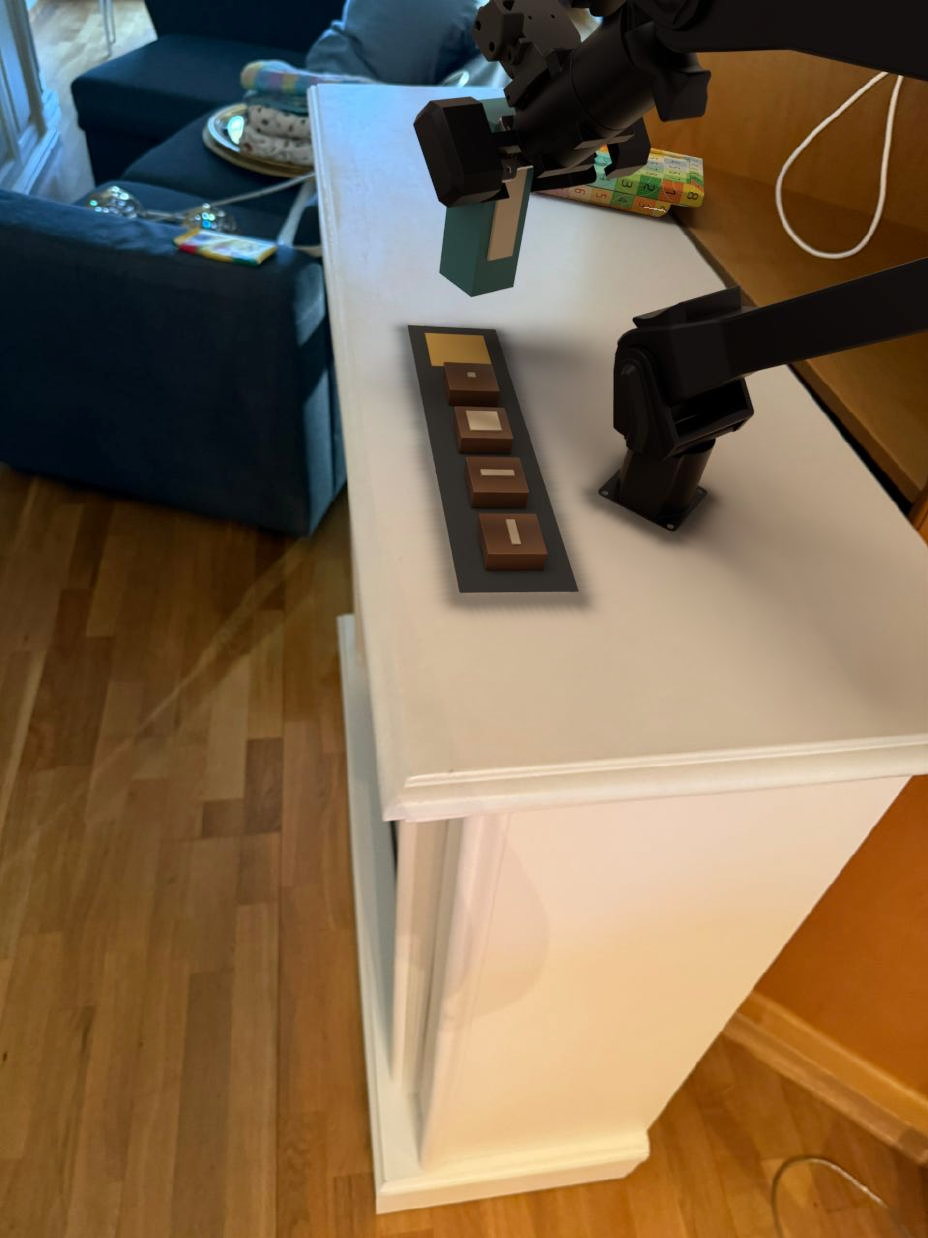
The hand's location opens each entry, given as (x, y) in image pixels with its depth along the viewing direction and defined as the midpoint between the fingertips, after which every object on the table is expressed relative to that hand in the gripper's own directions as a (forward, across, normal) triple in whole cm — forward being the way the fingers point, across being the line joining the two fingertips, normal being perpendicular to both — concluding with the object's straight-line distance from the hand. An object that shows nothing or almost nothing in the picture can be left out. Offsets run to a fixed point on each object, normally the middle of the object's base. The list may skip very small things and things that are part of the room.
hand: (477, 192), depth 71 cm
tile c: (-1, +8, +18) cm, 20 cm away
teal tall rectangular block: (+4, 0, +6) cm, 7 cm away
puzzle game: (+23, -38, -5) cm, 44 cm away
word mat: (0, +8, +18) cm, 20 cm away
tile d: (+3, +5, +14) cm, 15 cm away
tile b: (-5, +11, +22) cm, 25 cm away
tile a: (-8, +14, +26) cm, 31 cm away
